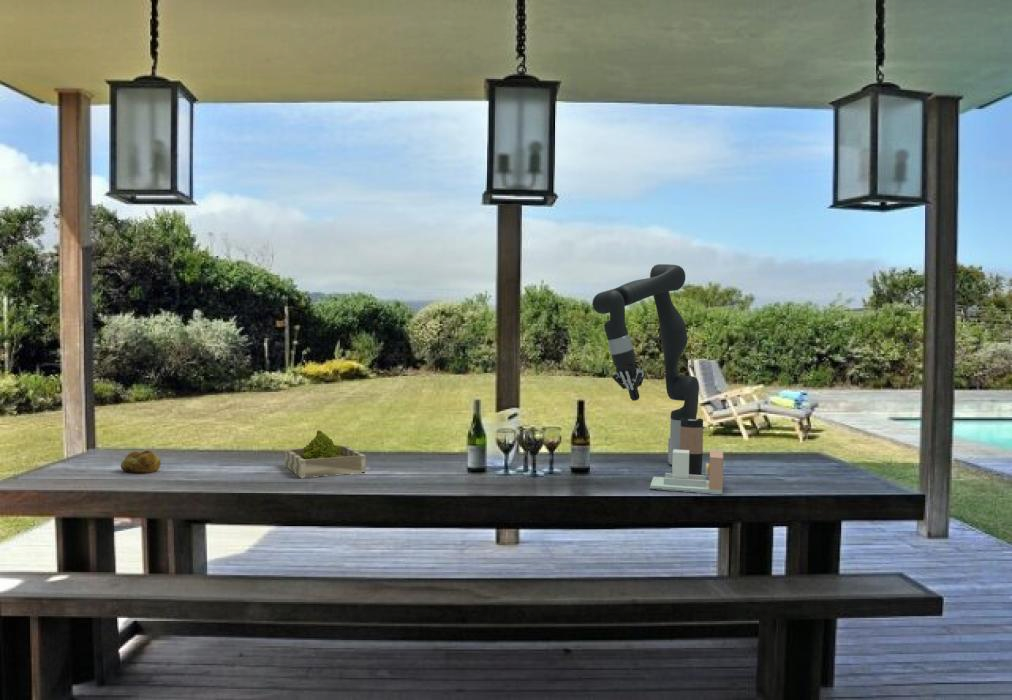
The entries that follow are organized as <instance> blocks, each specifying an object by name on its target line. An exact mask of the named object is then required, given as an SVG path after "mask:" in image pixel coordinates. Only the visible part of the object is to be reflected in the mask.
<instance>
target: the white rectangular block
mask: <svg viewBox="0 0 1012 700" xmlns="http://www.w3.org/2000/svg"><path fill="white" fill-rule="evenodd" d="M671 468H672V469H671V473H672V478H676V479H689V450H677V449H674V450H673V459H672V466H671Z"/></svg>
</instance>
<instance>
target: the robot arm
mask: <svg viewBox="0 0 1012 700" xmlns="http://www.w3.org/2000/svg"><path fill="white" fill-rule="evenodd" d="M649 273H650V274H649V277H647V278H642V279H641V278H640V279H635V280H632V281H630V282H626V283H625V284H621V285H619V286H618V287H615V288H612V289H609V290H605V291H601V292H598V293H597V294H596V295H595V296H594V297H593V299H592V308H593V310H594V311H595V312H596V313H598V314H600V315H605V314H609V319H608V320H607V321H606V322H605V323H604V325H603V328H604V332H605V335H606V338H607V344H608V349H609V352H610V355H611V356H610V357H611V359H612V363H613V366H614V367H615V374H614V375H612V380H614V381H615V382H616V383H617V384H618V385H619V386H620V388H621V389H623V390H625V389H626V391H628V394H629V399H630V400H631V401H632V402H633V401H635V402H636V401H638V400H639V399H640V393H639V390H638V388H639V387H641V386H642V384H643V382H644V378H645V375H646V371H645V370H641V369H639V366H638V365H637V362H636V361H637V358H636V354H635V350H634V346H633V344H632V340H631V337H630V334H629V332H628V329H627V324H626V308H625V307H626V306H627V307H628V306H630V305H633V304H635V303H637V302H639V301H642V300H644V299H647V298H650V297H653V299H654V303H655V307H656V312H657V317H658V318H657V319H658V324H659V325H658V326H659V333H660V341H661V347H662V352H663V358H664V359H663V360H664V372H665V374H664V375H665V389H666V393H667V397H669V399H671V400H672V401H673V400H674V401H681V402H682V401H684V403H683V405H682V407H680V408H677V409H674V410H671V412H670V424H669V425H670V426H669V427H670V430H669V431H670V432H669V433H670V435H669V438H668V441H667V443H668V444H667V446H668V448H667V463H668V462H670V463H671V464H672V459H673V450H674V449H677V450H680V428H681V418H692V419H694V420H697V414H698V409H699V394H700V393H699V392H700V383H699V380H698V378H697V377H696V376H693V375H680V374H679V362H680V359H681V357H682V355H683V353H684V351H685V349H686V348H687V344H688V334H687V326H686V322H685V320H684V317H682V315H681V313H680V312H679V311H678V309H677V308H676V307H675V304H673V301H672V298H671V295H670V292H674V291H675V292H676V291H678V290H680V289H681V288H682V287H683V286H684V285H685V282H686V272H685V269H684V268H683V267H682V266H680V265H678V264H666V263H665V264H664V263H663V264H662V263H661V264H659V263H658V264H655V265H653V267H652V268H651V270H650V272H649Z"/></svg>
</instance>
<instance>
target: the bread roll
mask: <svg viewBox="0 0 1012 700" xmlns="http://www.w3.org/2000/svg"><path fill="white" fill-rule="evenodd" d="M161 464H162V463H161V458H160V457H159V456H158V454H156V453H154V452H153V451H151V450H146V449H145V450H144V451H143V452H140V451H136V450H135V451H132V452H130V453H128V454H127V455H126V456H125V459H124V460H123V461H121V463H120V467H121V468H120V469H121V470H122V471H123V472H126V473H135V474H150V473H149V472H151V473H155V472H156V471H158V470H159V469H160V468H161ZM154 471H155V472H154Z"/></svg>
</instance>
